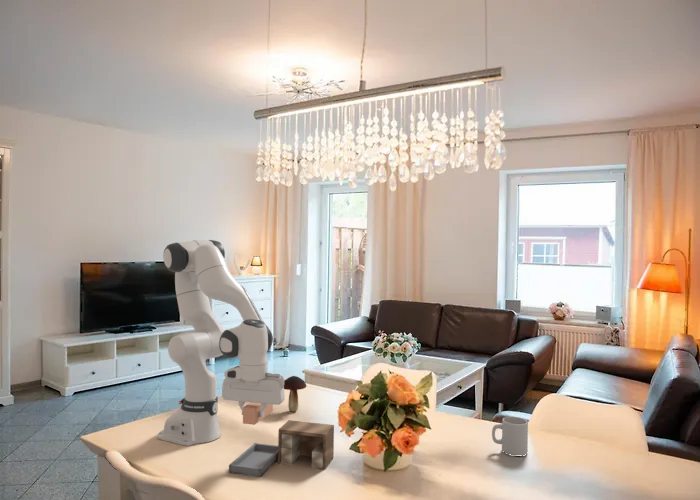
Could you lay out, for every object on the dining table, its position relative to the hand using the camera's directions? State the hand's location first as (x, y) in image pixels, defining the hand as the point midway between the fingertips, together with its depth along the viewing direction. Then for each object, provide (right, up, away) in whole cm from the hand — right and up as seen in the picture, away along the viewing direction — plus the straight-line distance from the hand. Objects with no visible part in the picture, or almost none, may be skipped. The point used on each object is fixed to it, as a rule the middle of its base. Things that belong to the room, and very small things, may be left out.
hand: (252, 415), depth 162 cm
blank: (+1, -2, +4) cm, 4 cm away
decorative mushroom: (+6, -17, +56) cm, 59 cm away
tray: (+1, -17, +4) cm, 17 cm away
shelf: (+16, -17, +6) cm, 24 cm away
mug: (+86, -18, +16) cm, 89 cm away
